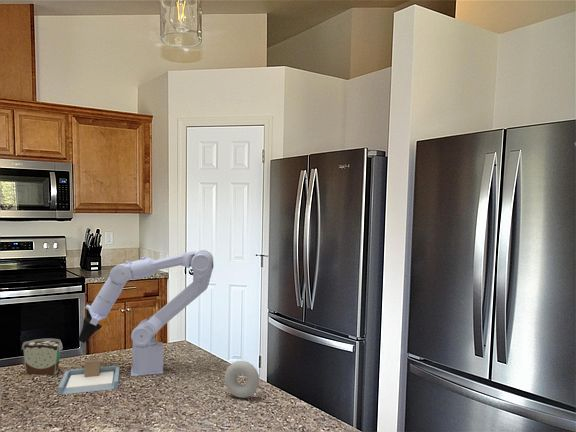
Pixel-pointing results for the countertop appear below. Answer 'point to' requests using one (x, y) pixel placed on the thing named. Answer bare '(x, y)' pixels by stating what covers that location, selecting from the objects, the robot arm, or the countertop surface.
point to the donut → (250, 374)
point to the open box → (81, 371)
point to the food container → (42, 356)
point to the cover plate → (91, 377)
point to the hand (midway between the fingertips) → (83, 336)
